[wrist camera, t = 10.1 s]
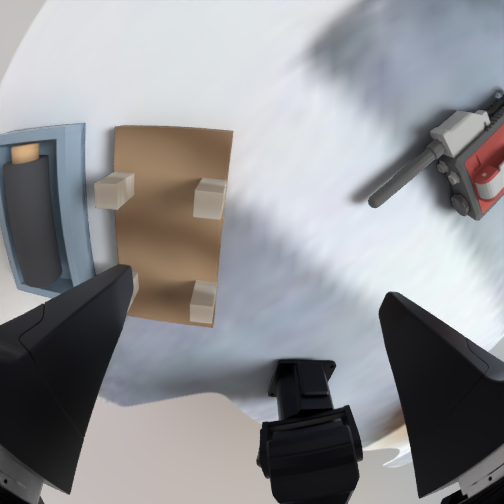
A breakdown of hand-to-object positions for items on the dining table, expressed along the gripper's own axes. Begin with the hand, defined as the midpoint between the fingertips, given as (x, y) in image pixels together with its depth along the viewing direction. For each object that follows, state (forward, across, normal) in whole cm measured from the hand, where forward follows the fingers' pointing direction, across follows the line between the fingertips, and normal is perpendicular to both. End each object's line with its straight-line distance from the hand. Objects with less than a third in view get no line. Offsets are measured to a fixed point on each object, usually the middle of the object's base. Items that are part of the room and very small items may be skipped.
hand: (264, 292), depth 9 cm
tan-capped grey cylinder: (+11, +17, +3) cm, 21 cm away
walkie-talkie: (+13, -17, -6) cm, 22 cm away
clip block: (+12, +6, +4) cm, 14 cm away
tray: (+12, +18, +3) cm, 21 cm away
